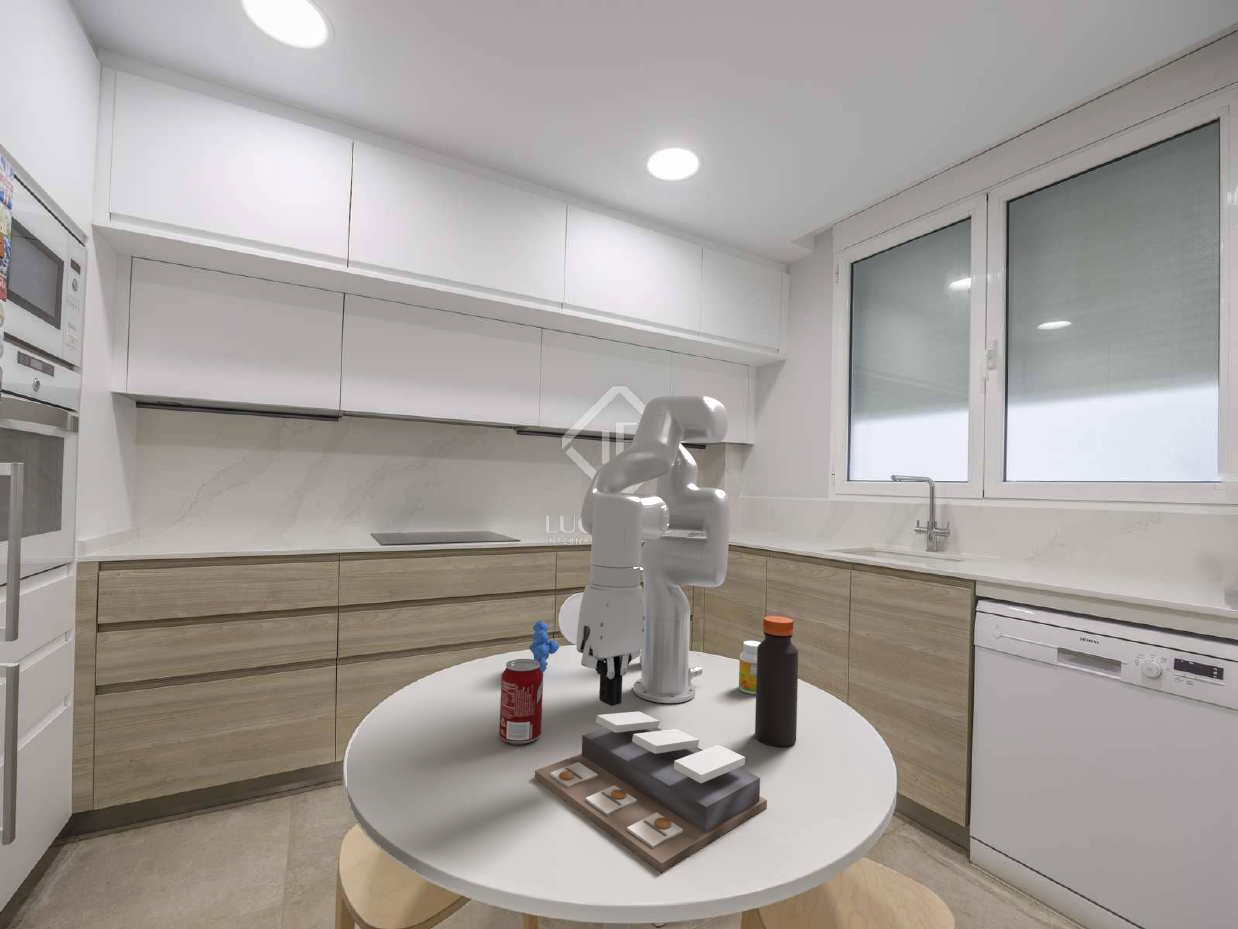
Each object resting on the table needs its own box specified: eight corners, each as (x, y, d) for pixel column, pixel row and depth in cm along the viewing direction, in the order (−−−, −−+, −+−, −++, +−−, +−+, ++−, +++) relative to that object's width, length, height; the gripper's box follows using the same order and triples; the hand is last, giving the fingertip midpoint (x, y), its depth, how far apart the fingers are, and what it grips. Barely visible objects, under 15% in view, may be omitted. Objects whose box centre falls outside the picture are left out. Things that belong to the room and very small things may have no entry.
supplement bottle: (735, 685, 120) (736, 639, 121) (760, 685, 121) (761, 639, 121) (743, 695, 115) (744, 646, 115) (768, 695, 116) (770, 647, 116)
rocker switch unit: (636, 739, 93) (637, 714, 93) (766, 807, 75) (767, 776, 75) (534, 777, 80) (535, 749, 80) (661, 872, 61) (662, 835, 61)
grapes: (560, 683, 118) (563, 625, 118) (528, 684, 116) (530, 626, 117) (556, 665, 129) (558, 613, 130) (526, 666, 128) (528, 613, 128)
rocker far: (638, 718, 90) (639, 711, 91) (658, 727, 87) (659, 720, 87) (595, 722, 85) (596, 715, 85) (615, 732, 81) (616, 725, 81)
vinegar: (803, 739, 96) (806, 620, 96) (784, 752, 91) (787, 626, 91) (766, 726, 100) (769, 612, 101) (747, 738, 95) (750, 618, 96)
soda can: (532, 750, 88) (535, 672, 89) (492, 744, 90) (495, 668, 90) (546, 731, 95) (549, 659, 95) (508, 726, 96) (511, 655, 97)
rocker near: (717, 752, 78) (718, 744, 79) (744, 765, 75) (745, 757, 75) (673, 768, 73) (674, 760, 73) (700, 783, 69) (701, 775, 69)
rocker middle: (675, 735, 84) (676, 728, 85) (698, 747, 81) (699, 739, 81) (632, 741, 79) (633, 734, 79) (655, 753, 75) (656, 746, 75)
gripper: (634, 570, 92) (630, 685, 91) (559, 577, 82) (553, 705, 81) (668, 577, 86) (663, 699, 85) (592, 584, 76) (586, 723, 75)
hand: (610, 702), depth 83 cm, fingers closed
